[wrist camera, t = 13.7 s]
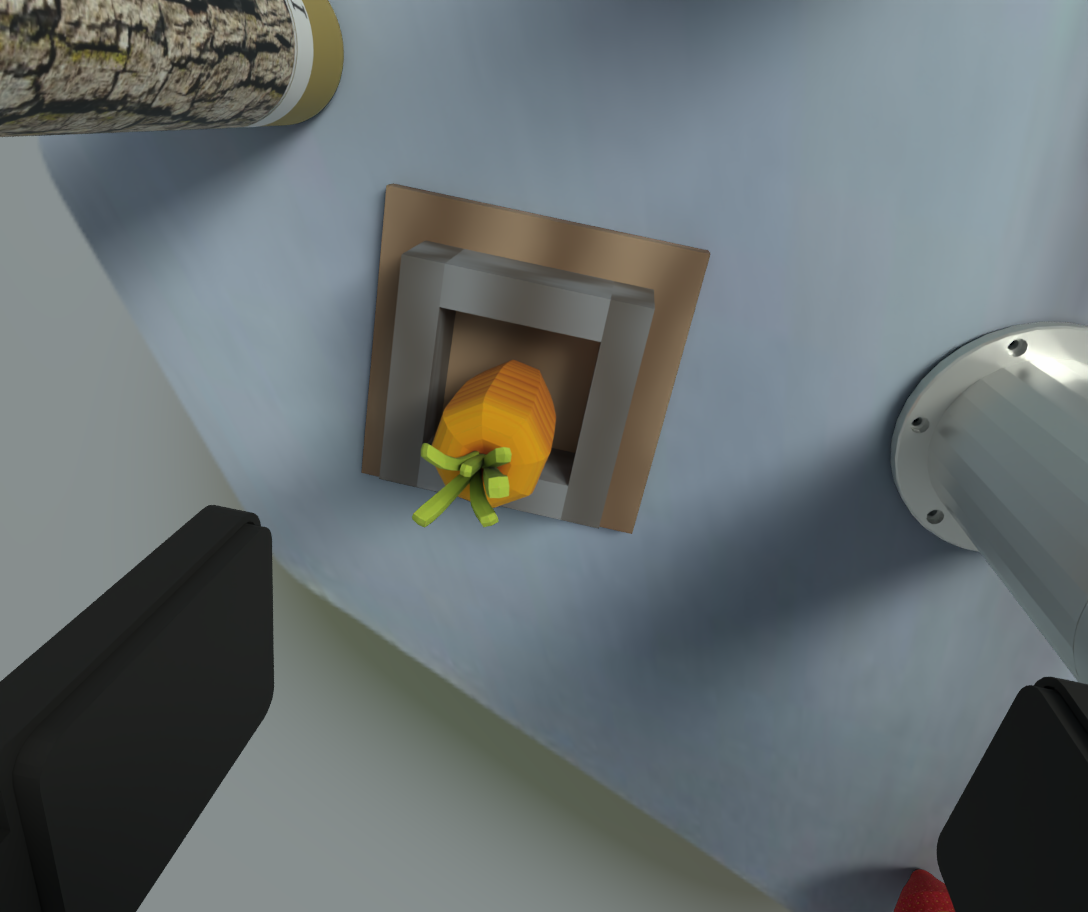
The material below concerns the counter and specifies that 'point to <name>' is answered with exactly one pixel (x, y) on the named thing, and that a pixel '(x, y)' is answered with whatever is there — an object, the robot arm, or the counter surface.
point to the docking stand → (528, 342)
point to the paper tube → (164, 64)
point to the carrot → (491, 441)
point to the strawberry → (924, 894)
